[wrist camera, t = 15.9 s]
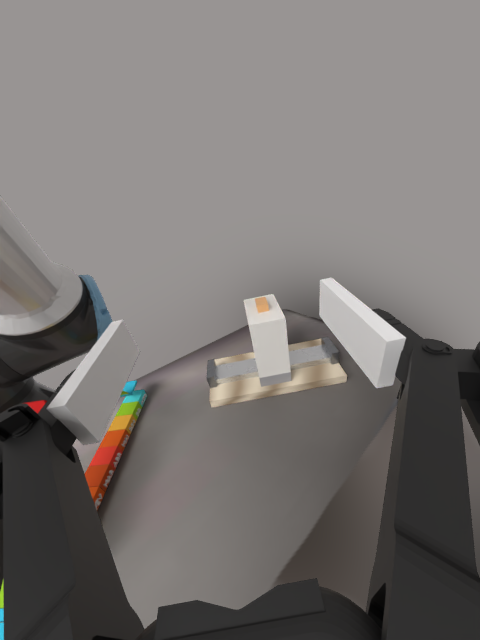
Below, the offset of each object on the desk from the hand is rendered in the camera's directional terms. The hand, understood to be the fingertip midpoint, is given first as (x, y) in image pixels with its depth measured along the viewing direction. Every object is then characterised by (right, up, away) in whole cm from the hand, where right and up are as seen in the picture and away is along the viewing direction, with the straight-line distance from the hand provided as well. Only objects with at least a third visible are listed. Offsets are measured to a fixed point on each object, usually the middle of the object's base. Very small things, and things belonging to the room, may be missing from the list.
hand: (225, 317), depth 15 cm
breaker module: (+7, -9, +24) cm, 27 cm away
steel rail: (+7, -8, +24) cm, 27 cm away
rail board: (+7, -10, +25) cm, 28 cm away
